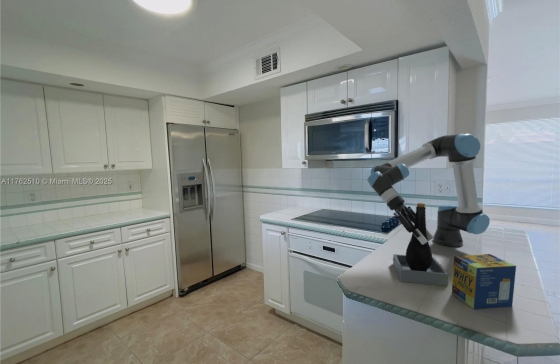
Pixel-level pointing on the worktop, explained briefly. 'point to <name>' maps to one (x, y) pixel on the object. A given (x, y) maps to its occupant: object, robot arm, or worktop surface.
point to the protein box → (483, 281)
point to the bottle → (419, 244)
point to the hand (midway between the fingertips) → (428, 241)
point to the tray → (420, 272)
